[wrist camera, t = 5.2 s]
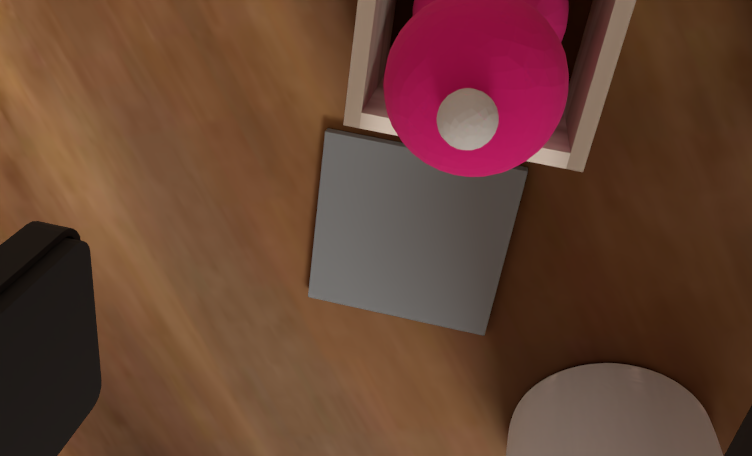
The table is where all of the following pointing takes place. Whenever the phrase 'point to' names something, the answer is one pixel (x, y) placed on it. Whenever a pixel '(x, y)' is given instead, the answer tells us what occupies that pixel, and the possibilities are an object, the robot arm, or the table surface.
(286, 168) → the table surface
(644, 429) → the utensil holder
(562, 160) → the crate
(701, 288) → the table surface
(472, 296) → the mat
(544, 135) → the pepper mill
